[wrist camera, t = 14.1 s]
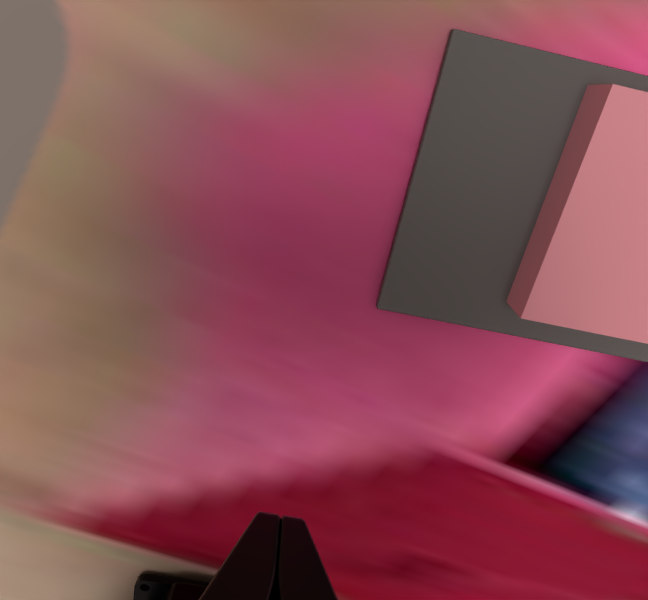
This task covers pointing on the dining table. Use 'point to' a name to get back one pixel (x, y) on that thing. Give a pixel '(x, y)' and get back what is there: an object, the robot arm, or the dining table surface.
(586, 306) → the pink rectangular block
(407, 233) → the mat
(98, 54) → the dining table surface
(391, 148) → the dining table surface
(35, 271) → the dining table surface
